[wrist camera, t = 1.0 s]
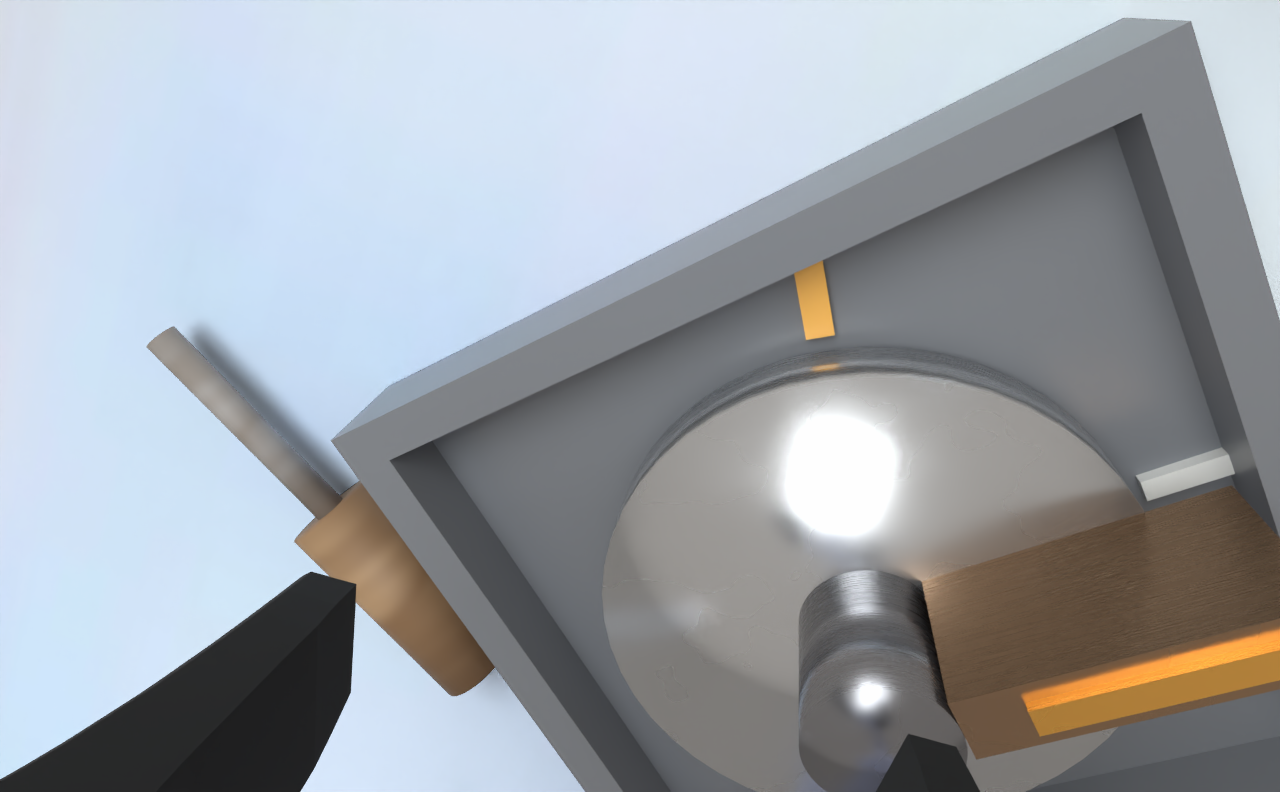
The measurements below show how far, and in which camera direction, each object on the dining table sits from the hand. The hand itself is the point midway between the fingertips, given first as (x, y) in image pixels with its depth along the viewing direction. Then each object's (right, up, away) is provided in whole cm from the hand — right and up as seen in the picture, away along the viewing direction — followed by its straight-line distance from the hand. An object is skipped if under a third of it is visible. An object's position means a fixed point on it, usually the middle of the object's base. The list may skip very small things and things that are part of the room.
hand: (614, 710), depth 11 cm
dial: (+6, 0, +9) cm, 11 cm away
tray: (+6, 0, +11) cm, 12 cm away
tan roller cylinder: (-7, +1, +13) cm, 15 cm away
